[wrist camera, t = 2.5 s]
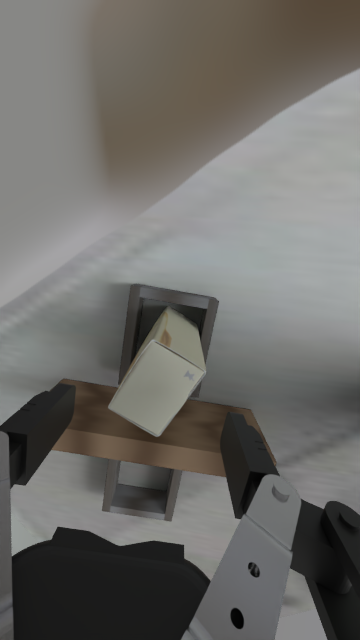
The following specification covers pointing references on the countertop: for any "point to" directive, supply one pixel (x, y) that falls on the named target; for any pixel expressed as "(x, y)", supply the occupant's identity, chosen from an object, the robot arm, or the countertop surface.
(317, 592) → the robot arm
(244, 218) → the countertop surface
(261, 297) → the countertop surface
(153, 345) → the skincare box
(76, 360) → the countertop surface
